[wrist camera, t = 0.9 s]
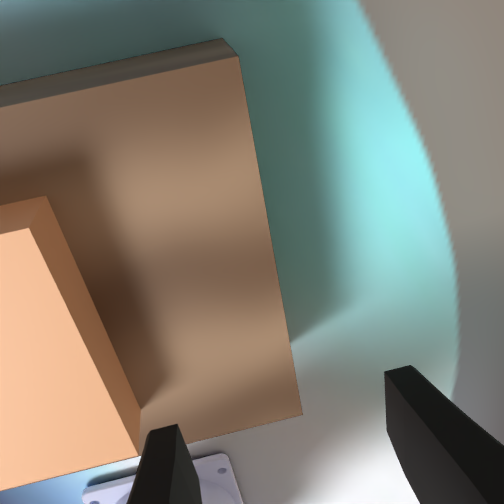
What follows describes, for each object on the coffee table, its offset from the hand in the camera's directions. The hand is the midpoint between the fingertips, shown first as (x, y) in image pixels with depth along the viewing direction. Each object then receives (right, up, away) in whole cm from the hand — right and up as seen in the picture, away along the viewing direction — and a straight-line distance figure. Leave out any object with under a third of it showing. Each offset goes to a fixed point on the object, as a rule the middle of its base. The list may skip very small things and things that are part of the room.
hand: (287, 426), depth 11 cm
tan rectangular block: (-9, +1, +5) cm, 10 cm away
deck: (-8, +3, +8) cm, 12 cm away
